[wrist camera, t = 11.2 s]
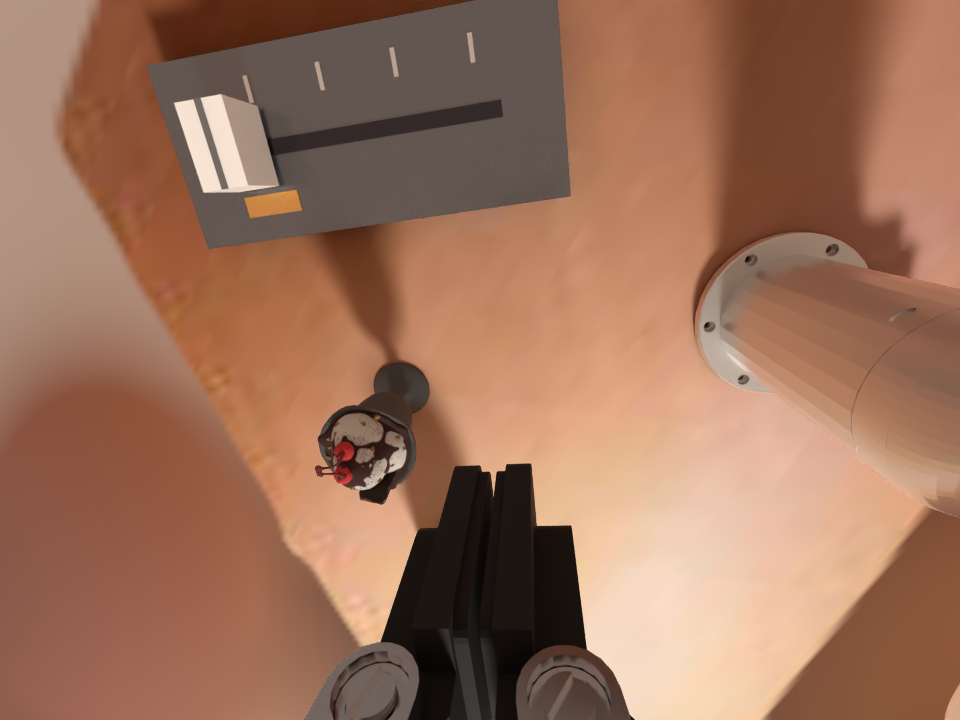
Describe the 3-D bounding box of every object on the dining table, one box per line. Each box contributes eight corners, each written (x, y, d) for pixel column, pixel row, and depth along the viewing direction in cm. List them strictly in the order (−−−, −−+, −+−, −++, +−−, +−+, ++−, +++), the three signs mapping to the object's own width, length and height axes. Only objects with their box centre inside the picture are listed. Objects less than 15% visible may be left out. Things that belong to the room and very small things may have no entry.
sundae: (373, 342, 39) (294, 430, 25) (448, 368, 39) (412, 469, 25) (356, 407, 41) (274, 521, 27) (426, 431, 41) (382, 555, 27)
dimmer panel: (552, 0, 29) (556, -17, 27) (566, 195, 33) (570, 196, 31) (172, 74, 32) (145, 65, 30) (228, 245, 36) (207, 249, 34)
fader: (257, 105, 30) (219, 93, 26) (279, 185, 32) (247, 185, 28) (215, 113, 30) (172, 102, 26) (239, 192, 32) (202, 192, 28)
